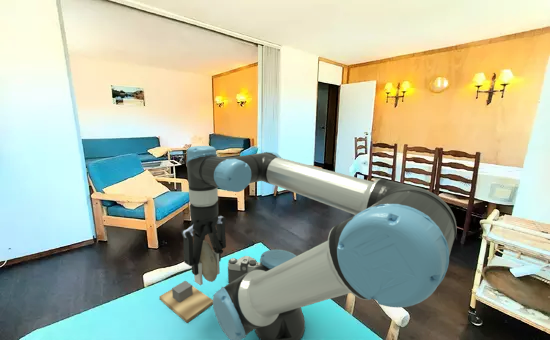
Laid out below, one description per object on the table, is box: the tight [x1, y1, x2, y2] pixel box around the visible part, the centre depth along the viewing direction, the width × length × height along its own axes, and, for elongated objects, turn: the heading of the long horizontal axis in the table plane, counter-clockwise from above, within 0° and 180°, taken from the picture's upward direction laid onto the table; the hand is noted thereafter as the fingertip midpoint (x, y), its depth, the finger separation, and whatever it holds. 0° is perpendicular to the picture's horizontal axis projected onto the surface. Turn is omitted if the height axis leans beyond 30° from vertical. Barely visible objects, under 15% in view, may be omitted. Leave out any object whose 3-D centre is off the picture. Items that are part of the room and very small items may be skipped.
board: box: [159, 285, 213, 324], centre depth 81 cm, size 16×10×1 cm, turn 53°
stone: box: [199, 240, 218, 283], centre depth 70 cm, size 6×6×12 cm
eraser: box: [171, 280, 193, 303], centre depth 81 cm, size 4×5×4 cm
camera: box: [227, 255, 260, 284], centre depth 92 cm, size 16×10×10 cm, turn 79°
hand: (207, 277), depth 71 cm, fingers closed on stone, 5 cm apart
